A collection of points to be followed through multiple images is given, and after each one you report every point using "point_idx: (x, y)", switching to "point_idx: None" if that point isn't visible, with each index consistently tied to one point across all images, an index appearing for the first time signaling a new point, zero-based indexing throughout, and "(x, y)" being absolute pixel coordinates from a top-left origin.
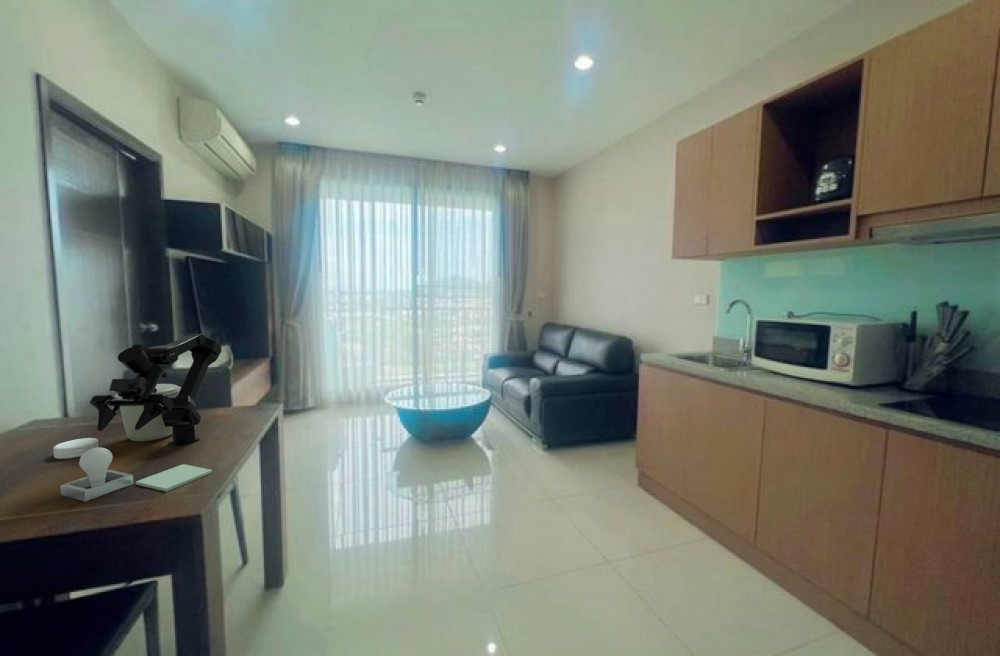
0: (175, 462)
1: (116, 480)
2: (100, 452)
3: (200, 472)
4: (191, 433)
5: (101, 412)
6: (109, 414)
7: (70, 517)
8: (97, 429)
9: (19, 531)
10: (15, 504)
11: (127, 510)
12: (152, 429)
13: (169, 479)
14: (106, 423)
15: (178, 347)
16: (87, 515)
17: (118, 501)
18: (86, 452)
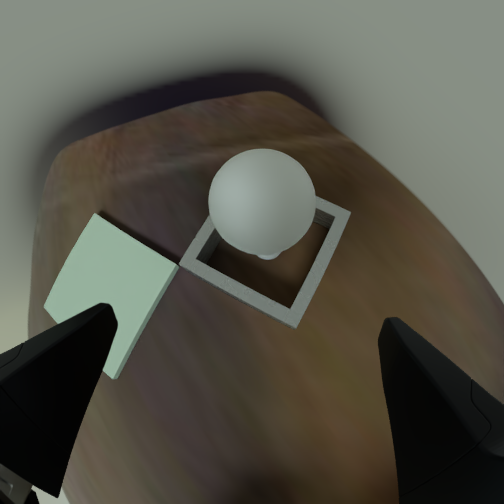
0: (159, 427)
1: (203, 226)
2: (224, 165)
3: (58, 297)
4: None
5: (498, 426)
6: (430, 487)
7: (225, 128)
8: (396, 317)
9: (276, 99)
10: (401, 191)
11: (138, 148)
12: None
13: (101, 264)
14: (396, 412)
15: None
16: (198, 133)
17: (171, 178)
18: (278, 154)
